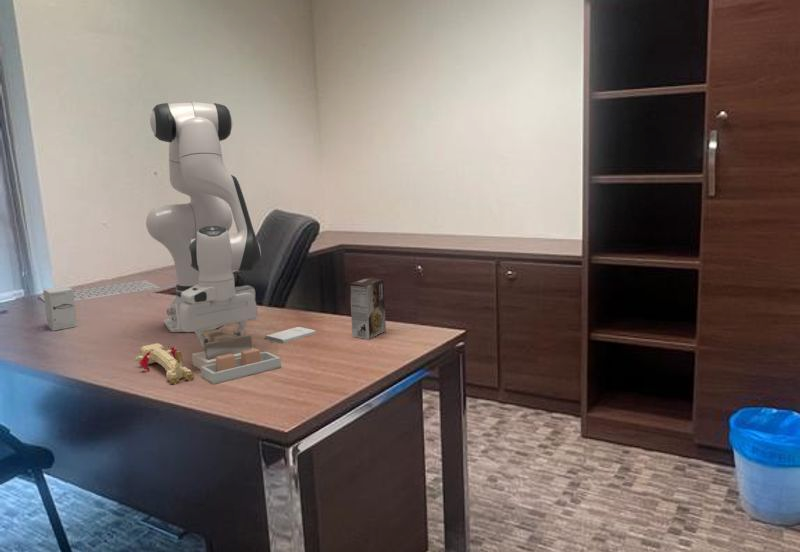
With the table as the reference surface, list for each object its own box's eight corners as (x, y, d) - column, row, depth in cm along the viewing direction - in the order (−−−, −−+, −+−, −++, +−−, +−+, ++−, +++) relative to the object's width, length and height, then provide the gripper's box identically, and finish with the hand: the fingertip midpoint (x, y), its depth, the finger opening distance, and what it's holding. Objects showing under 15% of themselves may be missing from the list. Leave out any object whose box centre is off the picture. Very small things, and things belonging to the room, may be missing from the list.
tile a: (215, 356, 170) (219, 359, 168) (230, 353, 172) (235, 355, 170) (217, 372, 170) (221, 374, 168) (232, 368, 173) (236, 371, 171)
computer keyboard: (47, 307, 257) (47, 302, 256) (37, 299, 271) (37, 295, 271) (162, 289, 282) (161, 285, 282) (147, 283, 297) (147, 279, 297)
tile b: (240, 351, 174) (245, 353, 172) (255, 348, 176) (259, 350, 174) (242, 366, 174) (246, 368, 172) (256, 363, 177) (260, 365, 175)
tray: (201, 376, 169) (200, 366, 169) (267, 360, 180) (266, 351, 179) (213, 384, 163) (212, 373, 163) (281, 367, 174) (280, 357, 174)
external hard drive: (265, 340, 201) (298, 331, 210) (283, 345, 195) (316, 335, 205) (265, 335, 201) (297, 325, 210) (282, 339, 195) (315, 329, 204)
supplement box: (53, 331, 218) (48, 292, 215) (47, 327, 223) (42, 289, 221) (77, 327, 222) (73, 289, 220) (71, 323, 228) (67, 285, 226)
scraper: (188, 348, 183) (186, 334, 182) (230, 339, 190) (228, 325, 189) (208, 360, 172) (207, 344, 171) (252, 350, 179) (250, 335, 179)
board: (192, 365, 178) (191, 353, 178) (242, 353, 187) (241, 343, 186) (208, 374, 171) (207, 362, 170) (259, 361, 179) (258, 350, 178)
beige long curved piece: (202, 383, 169) (166, 353, 188) (200, 349, 166) (164, 322, 185) (162, 392, 163) (129, 360, 182) (159, 358, 160) (126, 329, 179)
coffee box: (368, 329, 207) (366, 277, 204) (386, 332, 204) (384, 278, 201) (351, 337, 199) (348, 283, 196) (369, 339, 196) (367, 284, 193)
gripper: (249, 282, 185) (252, 331, 188) (174, 294, 173) (179, 347, 175) (259, 285, 180) (263, 336, 183) (183, 298, 168) (188, 352, 170)
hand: (221, 341), depth 179 cm, fingers open, 8 cm apart
